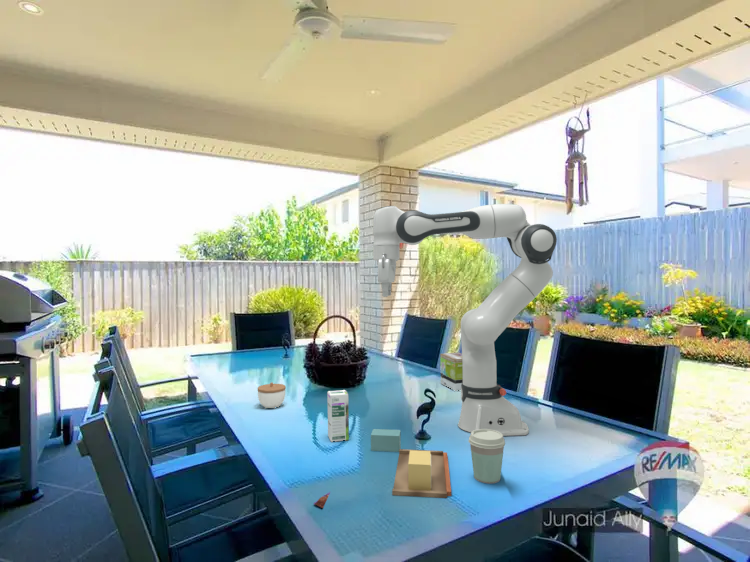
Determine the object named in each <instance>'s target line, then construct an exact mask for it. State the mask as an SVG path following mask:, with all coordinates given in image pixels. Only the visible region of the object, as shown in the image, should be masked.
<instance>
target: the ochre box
mask: <svg viewBox="0 0 750 562" xmlns="http://www.w3.org/2000/svg"><path fill="white" fill-rule="evenodd" d="M409 450H410V453H409V463H408V485H409V490H425V491H431V454H430V451H415V450H416V449H409Z"/></svg>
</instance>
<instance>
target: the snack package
mask: <svg viewBox="0 0 750 562" xmlns="http://www.w3.org/2000/svg"><path fill="white" fill-rule="evenodd" d="M330 494H331V491H329V492H327V493H325V494H323V495H322V496H320V497H319V498H318V500H316V501H315V502H313V505H315V506H317V507H320V508H321V509H324V507H325V504H326V503H327V500H328V499H329V496H330Z"/></svg>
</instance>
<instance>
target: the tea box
mask: <svg viewBox="0 0 750 562" xmlns="http://www.w3.org/2000/svg"><path fill="white" fill-rule="evenodd" d="M439 358H440V359H439V361H440V362H439V365H440V384H441V385H442V386H445V387H446V386H447V388H448V387H449V388H448V389H450V388H451V389H450V390H452V389H453V390H455V391H457V390H461V384H462V383H463V362H462V352H459V351H457V352H446V353H440V356H439ZM453 390H452V391H453ZM455 391H454V392H455ZM457 392H458V391H457Z"/></svg>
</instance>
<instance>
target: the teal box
mask: <svg viewBox="0 0 750 562" xmlns="http://www.w3.org/2000/svg"><path fill="white" fill-rule="evenodd" d="M401 432H402V431H401V429H383V428H382V429H381V428H379V429H378V428H373V429H372V431H371V433H370V451H372V452H394V453H399V449H401V447H402V446H401V445H402V444H401V443H402V442H401V440H402V439H401V438H402V437H401Z"/></svg>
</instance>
